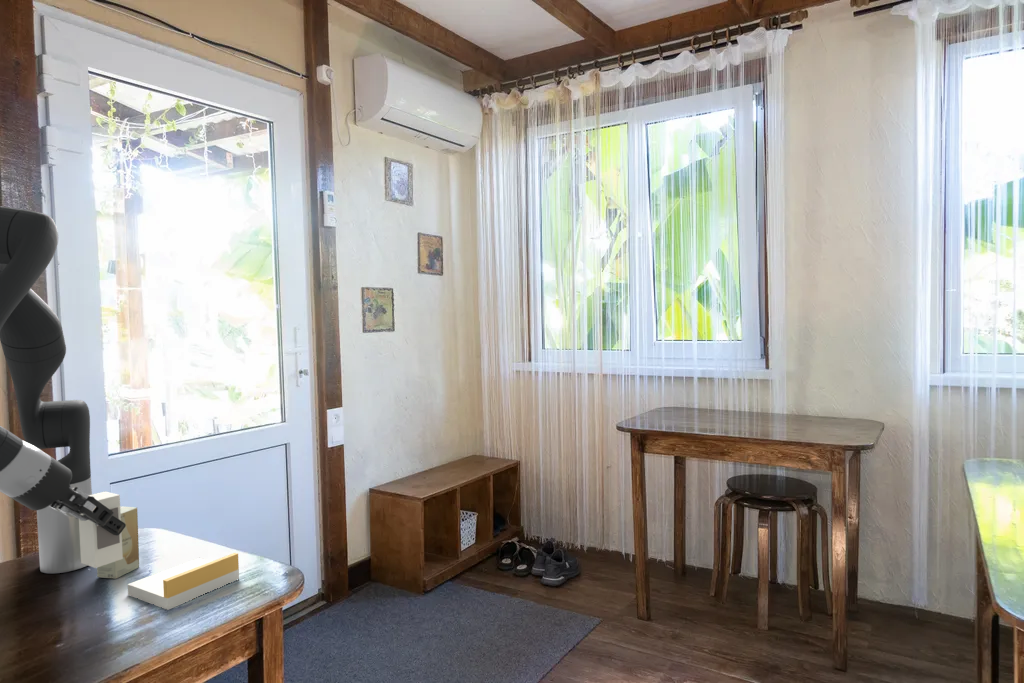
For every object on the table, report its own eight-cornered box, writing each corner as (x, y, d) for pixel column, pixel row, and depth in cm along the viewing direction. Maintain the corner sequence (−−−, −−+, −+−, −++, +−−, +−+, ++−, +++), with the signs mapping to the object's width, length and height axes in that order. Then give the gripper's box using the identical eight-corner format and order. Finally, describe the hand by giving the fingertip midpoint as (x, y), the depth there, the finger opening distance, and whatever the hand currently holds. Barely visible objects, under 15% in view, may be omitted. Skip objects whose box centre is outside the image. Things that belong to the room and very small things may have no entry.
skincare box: (115, 579, 124) (112, 516, 123) (96, 578, 125) (93, 515, 124) (141, 566, 130) (138, 506, 130) (122, 565, 131) (119, 505, 130)
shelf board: (128, 595, 117) (126, 567, 117) (199, 567, 129) (198, 542, 129) (167, 610, 111) (166, 581, 111) (239, 579, 123) (238, 553, 123)
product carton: (81, 562, 109) (77, 498, 108) (108, 553, 113) (105, 491, 112) (96, 568, 107) (92, 502, 106) (123, 559, 110) (120, 495, 110)
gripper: (69, 459, 98) (151, 514, 109) (23, 448, 106) (105, 501, 117) (31, 503, 94) (121, 556, 105) (-14, 489, 101) (74, 540, 112)
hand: (112, 527), depth 111 cm, fingers closed on product carton, 4 cm apart
